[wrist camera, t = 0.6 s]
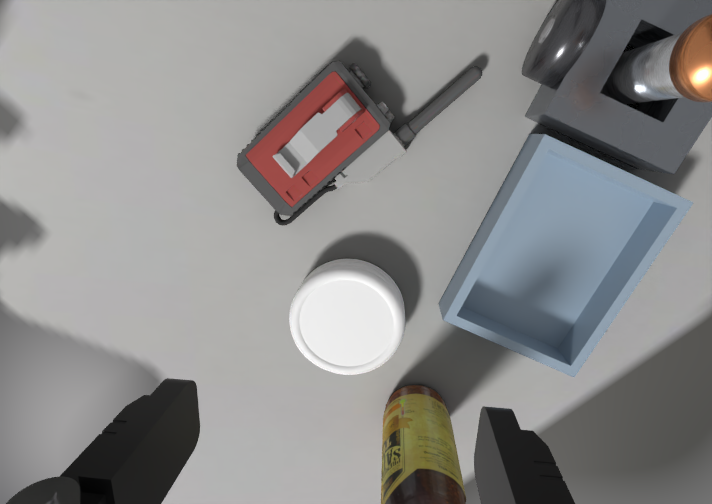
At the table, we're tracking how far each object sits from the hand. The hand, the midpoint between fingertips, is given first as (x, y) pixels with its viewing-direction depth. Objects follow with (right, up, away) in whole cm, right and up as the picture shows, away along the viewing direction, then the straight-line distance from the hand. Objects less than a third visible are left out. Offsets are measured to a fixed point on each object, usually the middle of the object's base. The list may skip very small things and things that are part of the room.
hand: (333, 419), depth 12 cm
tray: (+17, +5, +24) cm, 30 cm away
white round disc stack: (0, 0, +28) cm, 28 cm away
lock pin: (+20, +18, +20) cm, 34 cm away
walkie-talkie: (0, +15, +23) cm, 28 cm away
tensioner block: (+19, +18, +20) cm, 33 cm away
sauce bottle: (+6, -11, +30) cm, 32 cm away
